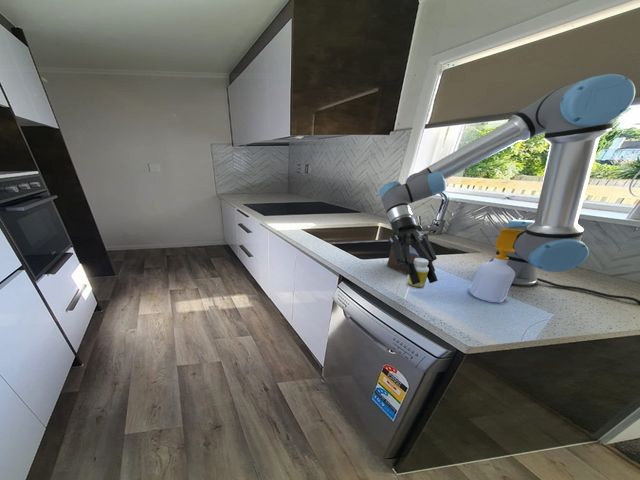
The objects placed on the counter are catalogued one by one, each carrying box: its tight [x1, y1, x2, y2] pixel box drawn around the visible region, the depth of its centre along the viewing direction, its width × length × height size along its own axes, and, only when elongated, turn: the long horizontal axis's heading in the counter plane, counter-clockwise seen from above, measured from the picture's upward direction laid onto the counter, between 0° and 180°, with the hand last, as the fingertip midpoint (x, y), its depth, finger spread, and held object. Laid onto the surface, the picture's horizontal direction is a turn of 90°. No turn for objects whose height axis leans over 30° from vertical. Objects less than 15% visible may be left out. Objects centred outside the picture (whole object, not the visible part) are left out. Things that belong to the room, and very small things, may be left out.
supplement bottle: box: [405, 258, 429, 290], centre depth 81 cm, size 5×5×10 cm
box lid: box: [390, 245, 419, 256], centre depth 102 cm, size 11×11×1 cm
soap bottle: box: [469, 227, 524, 303], centre depth 80 cm, size 9×9×25 cm
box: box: [386, 247, 420, 276], centre depth 104 cm, size 11×11×9 cm
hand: (425, 282), depth 79 cm, fingers closed on supplement bottle, 5 cm apart
